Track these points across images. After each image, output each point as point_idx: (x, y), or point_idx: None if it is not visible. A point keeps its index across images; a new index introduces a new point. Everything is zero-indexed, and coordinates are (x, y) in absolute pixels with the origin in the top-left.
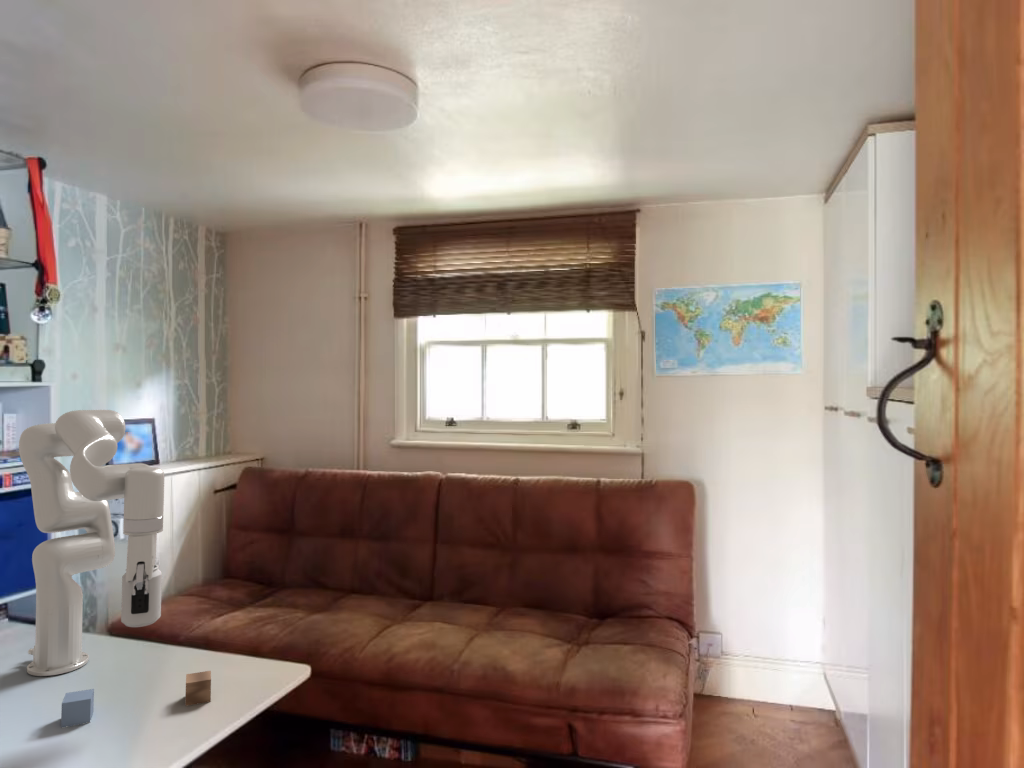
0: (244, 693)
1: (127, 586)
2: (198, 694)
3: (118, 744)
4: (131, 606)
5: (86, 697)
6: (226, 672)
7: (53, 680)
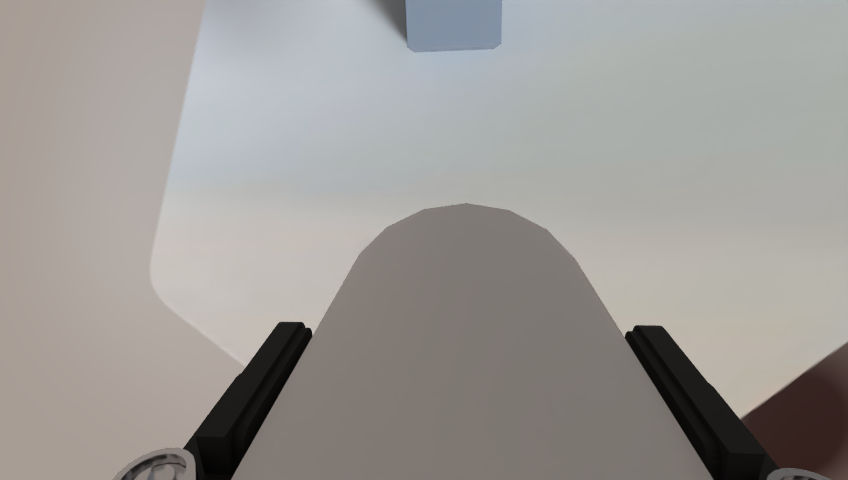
0: None
1: (247, 468)
2: None
3: (250, 152)
4: (257, 355)
5: (426, 29)
6: None
7: None
